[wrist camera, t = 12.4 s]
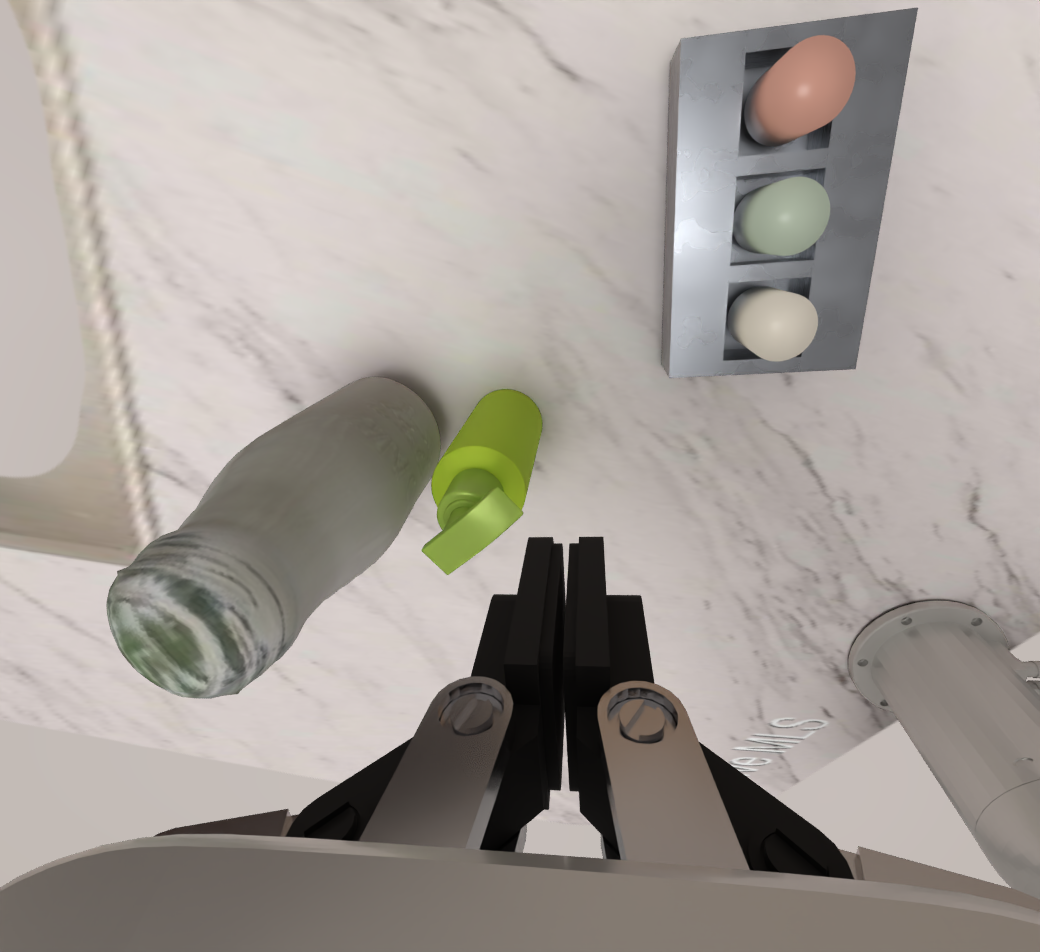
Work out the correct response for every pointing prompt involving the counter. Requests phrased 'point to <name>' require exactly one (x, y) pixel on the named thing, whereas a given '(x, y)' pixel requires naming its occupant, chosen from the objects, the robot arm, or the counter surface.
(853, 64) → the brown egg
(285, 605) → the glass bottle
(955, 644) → the robot arm
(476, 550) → the soap dispenser
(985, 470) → the counter surface
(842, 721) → the counter surface
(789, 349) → the cream rounded cylinder
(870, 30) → the gray socket block
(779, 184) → the green piece
